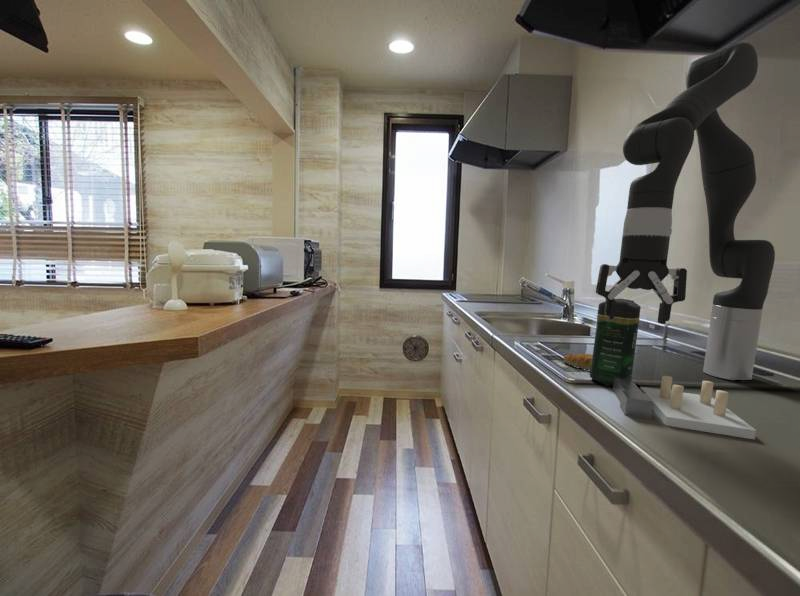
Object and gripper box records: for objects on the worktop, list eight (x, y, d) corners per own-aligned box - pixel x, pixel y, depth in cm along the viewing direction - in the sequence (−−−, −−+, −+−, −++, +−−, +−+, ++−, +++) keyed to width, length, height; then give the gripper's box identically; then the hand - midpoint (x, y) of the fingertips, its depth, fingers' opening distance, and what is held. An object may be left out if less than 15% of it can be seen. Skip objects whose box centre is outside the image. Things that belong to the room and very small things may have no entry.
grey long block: (609, 390, 81) (610, 375, 81) (631, 393, 80) (632, 377, 79) (624, 415, 68) (626, 397, 67) (651, 419, 66) (653, 401, 66)
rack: (639, 393, 79) (642, 367, 79) (709, 403, 76) (713, 376, 75) (665, 425, 64) (669, 393, 63) (754, 439, 60) (760, 405, 60)
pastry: (558, 364, 99) (559, 350, 99) (570, 361, 104) (571, 347, 103) (596, 374, 92) (597, 358, 92) (607, 370, 97) (609, 355, 97)
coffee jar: (626, 390, 81) (637, 302, 79) (585, 381, 86) (594, 297, 84) (634, 380, 88) (644, 299, 86) (597, 372, 93) (605, 295, 91)
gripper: (683, 237, 73) (672, 322, 75) (599, 234, 78) (591, 314, 80) (699, 234, 66) (686, 328, 68) (606, 232, 71) (597, 320, 72)
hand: (635, 321), depth 74 cm, fingers open, 8 cm apart
